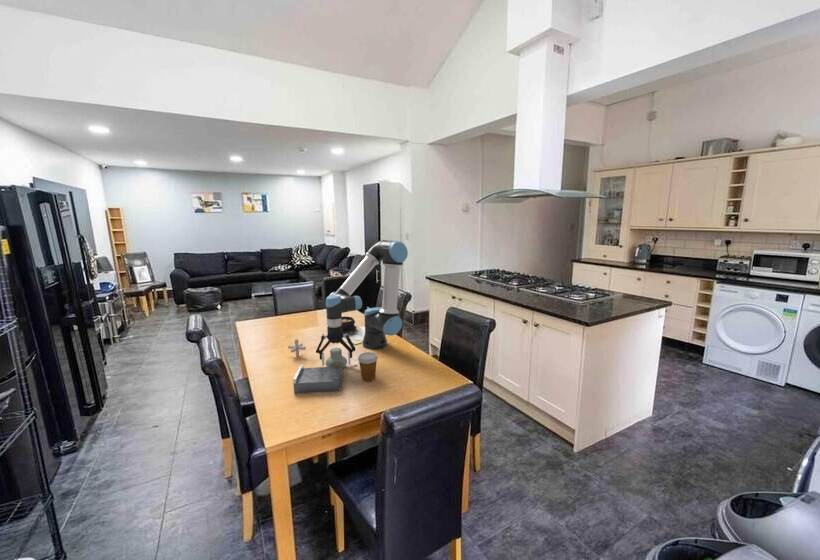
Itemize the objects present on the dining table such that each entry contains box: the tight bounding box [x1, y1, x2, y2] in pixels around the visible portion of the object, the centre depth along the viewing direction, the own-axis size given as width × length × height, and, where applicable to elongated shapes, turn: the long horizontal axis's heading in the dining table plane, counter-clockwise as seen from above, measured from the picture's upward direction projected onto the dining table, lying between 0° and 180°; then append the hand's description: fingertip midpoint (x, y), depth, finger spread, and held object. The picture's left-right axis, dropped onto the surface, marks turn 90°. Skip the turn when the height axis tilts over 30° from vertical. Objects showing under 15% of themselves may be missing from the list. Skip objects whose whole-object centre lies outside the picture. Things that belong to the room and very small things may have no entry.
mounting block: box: [292, 363, 343, 395], centre depth 165 cm, size 20×16×7 cm
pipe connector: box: [287, 338, 307, 357], centre depth 198 cm, size 10×10×10 cm
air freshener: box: [325, 347, 348, 369], centre depth 182 cm, size 11×8×10 cm
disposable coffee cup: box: [357, 352, 379, 383], centre depth 169 cm, size 10×10×12 cm
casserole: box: [342, 316, 358, 335], centre depth 241 cm, size 25×19×8 cm
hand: (336, 364), depth 183 cm, fingers open, 13 cm apart
